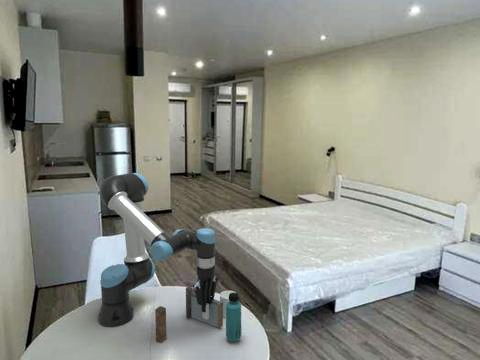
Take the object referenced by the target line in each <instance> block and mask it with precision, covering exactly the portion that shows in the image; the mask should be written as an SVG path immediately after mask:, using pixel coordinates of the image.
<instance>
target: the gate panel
mask: <svg viewBox="0 0 480 360" xmlns="http://www.w3.org/2000/svg"><path fill="white" fill-rule="evenodd" d="M211 302H212V304H210V310H209V319H207V320H206V319H205V318H203V317H202V306H201V305H199V304H198V303H197V298H196V294H195V293H194V292H192V293H191V317H192V318H194V319H196V320H199V321H202V322H203V323H208V324H209V325H212V326H214V327H217V328H218V329H220V328H222V327H223V325H224V317H223V302H222V301H220V300H217V299H215V298H214V300H213V301H211Z"/></svg>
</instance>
